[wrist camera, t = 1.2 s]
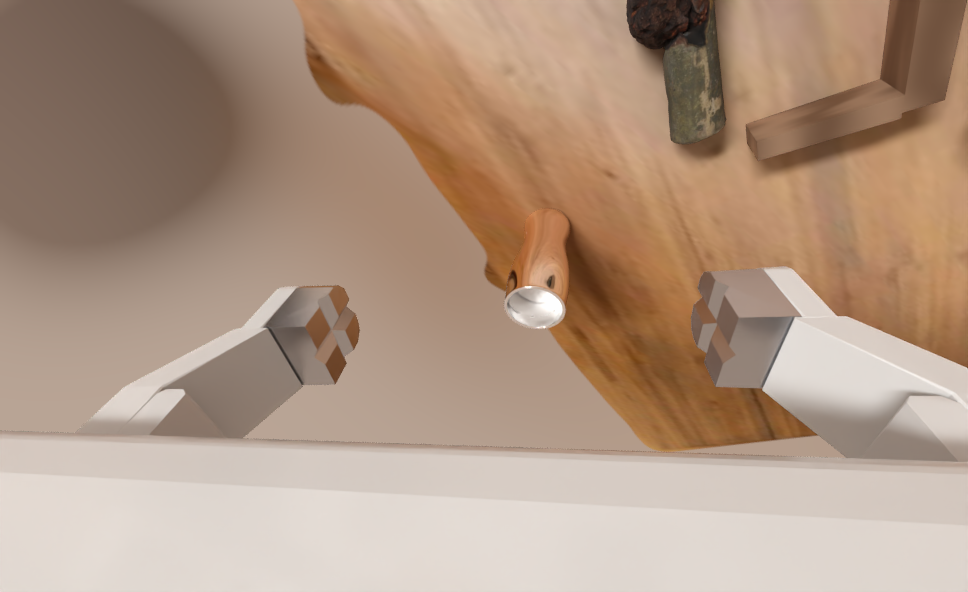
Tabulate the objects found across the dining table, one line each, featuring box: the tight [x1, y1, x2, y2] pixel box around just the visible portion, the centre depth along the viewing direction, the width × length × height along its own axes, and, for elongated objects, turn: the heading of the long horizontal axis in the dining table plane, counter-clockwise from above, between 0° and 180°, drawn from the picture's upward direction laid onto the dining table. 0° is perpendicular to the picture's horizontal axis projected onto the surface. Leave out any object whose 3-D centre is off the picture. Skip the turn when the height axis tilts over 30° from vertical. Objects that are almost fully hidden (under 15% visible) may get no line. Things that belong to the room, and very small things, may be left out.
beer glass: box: [504, 208, 570, 329], centre depth 47 cm, size 7×7×15 cm
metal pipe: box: [627, 0, 726, 144], centre depth 33 cm, size 18×7×6 cm, turn 25°
